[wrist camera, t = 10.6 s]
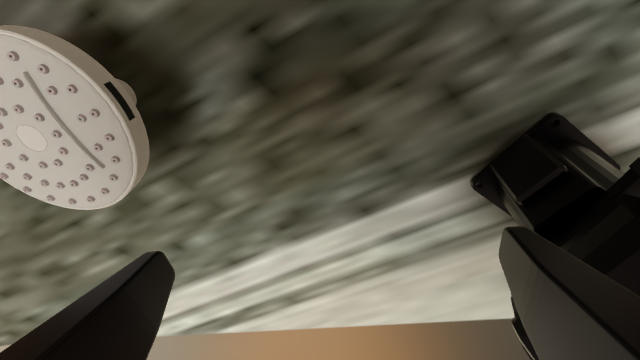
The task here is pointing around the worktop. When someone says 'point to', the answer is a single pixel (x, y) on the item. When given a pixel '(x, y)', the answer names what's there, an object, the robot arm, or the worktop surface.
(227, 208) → the worktop surface
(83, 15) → the worktop surface
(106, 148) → the showerhead
